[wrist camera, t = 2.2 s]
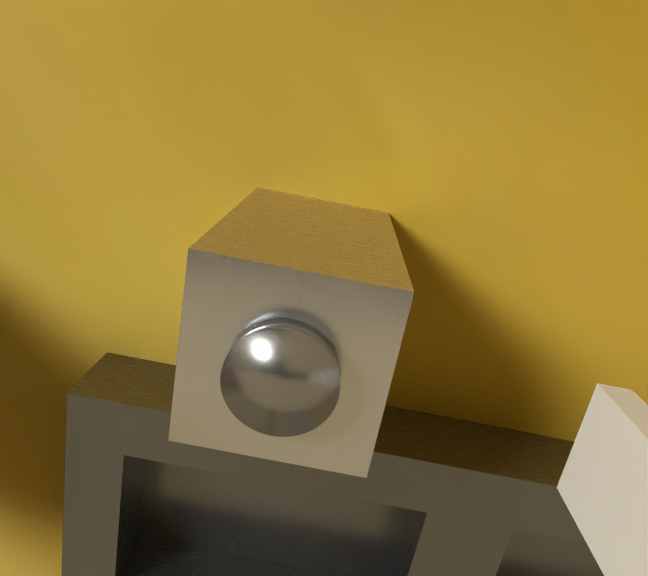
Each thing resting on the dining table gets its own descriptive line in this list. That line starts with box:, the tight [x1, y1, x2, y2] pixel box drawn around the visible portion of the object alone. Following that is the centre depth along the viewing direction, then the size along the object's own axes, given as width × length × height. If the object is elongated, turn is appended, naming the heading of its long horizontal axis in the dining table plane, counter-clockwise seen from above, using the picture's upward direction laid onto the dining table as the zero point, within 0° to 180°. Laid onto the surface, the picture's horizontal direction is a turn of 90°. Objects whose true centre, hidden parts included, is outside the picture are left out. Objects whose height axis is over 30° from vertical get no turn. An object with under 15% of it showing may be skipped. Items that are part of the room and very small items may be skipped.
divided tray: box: [62, 353, 604, 576], centre depth 21 cm, size 10×28×3 cm, turn 79°
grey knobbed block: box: [168, 188, 414, 478], centre depth 15 cm, size 4×4×9 cm
